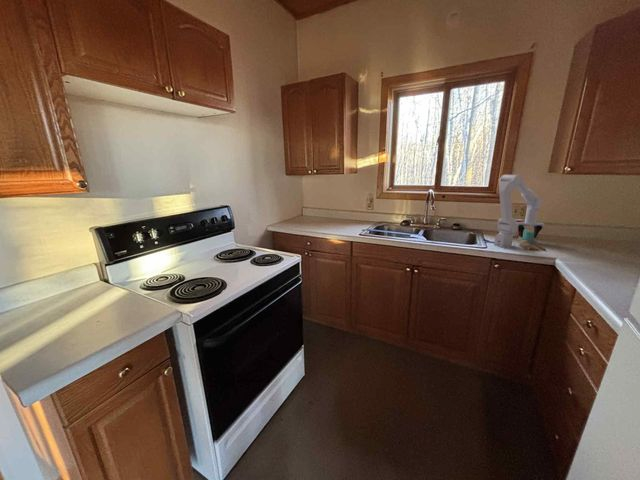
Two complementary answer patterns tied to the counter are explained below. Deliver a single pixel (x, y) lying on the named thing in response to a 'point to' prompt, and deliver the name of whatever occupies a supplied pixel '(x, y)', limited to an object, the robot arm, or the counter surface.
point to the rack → (536, 248)
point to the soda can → (517, 230)
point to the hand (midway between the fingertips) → (527, 236)
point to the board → (528, 235)
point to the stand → (527, 241)
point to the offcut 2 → (526, 246)
